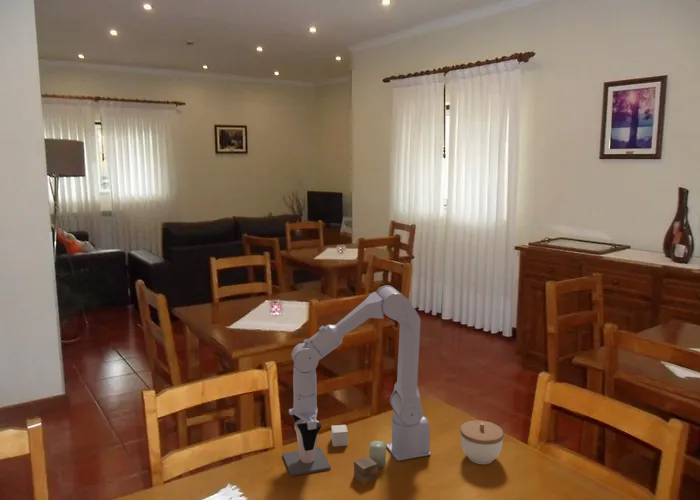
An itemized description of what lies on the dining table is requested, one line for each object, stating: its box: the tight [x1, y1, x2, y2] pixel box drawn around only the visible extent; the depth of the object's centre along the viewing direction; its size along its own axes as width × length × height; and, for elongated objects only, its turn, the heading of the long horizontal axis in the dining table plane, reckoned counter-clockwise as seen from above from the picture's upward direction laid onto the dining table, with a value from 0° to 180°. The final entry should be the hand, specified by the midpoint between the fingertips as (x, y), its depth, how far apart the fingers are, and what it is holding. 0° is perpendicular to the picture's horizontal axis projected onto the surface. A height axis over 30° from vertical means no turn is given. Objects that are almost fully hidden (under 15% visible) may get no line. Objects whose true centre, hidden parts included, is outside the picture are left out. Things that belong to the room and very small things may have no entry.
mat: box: [282, 446, 332, 477], centre depth 141 cm, size 10×10×1 cm
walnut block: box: [353, 456, 378, 485], centre depth 134 cm, size 4×4×4 cm
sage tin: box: [369, 440, 387, 469], centre depth 140 cm, size 4×4×5 cm
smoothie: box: [294, 419, 320, 463], centre depth 140 cm, size 6×6×14 cm
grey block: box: [330, 424, 349, 447], centre depth 151 cm, size 4×4×4 cm
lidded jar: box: [459, 419, 505, 465], centre depth 142 cm, size 11×11×9 cm
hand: (305, 443), depth 140 cm, fingers closed on smoothie, 6 cm apart
